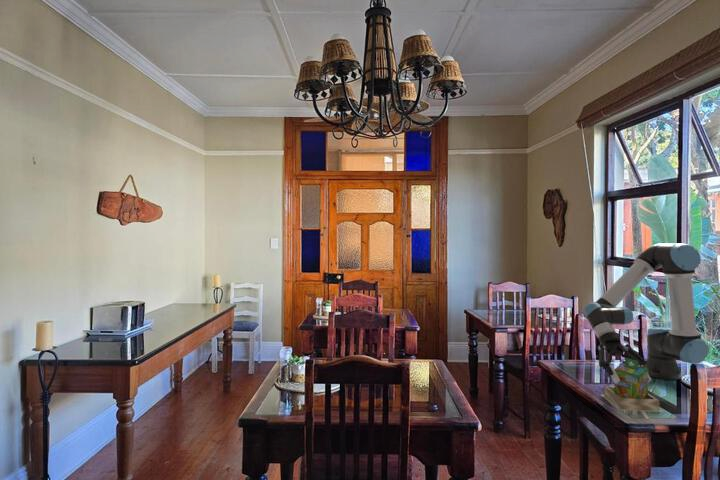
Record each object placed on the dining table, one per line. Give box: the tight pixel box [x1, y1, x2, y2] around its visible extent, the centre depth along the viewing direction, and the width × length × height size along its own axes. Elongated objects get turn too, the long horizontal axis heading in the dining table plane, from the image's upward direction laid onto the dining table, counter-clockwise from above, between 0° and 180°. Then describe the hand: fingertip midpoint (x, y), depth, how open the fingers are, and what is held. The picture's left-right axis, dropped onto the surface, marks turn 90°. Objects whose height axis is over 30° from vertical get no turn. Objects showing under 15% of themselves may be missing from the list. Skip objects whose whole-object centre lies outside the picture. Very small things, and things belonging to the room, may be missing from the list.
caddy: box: [603, 385, 660, 411], centre depth 170 cm, size 14×14×4 cm
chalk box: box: [614, 358, 649, 399], centre depth 168 cm, size 9×9×15 cm
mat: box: [600, 394, 664, 413], centre depth 170 cm, size 16×16×1 cm
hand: (633, 382), depth 167 cm, fingers open, 13 cm apart
